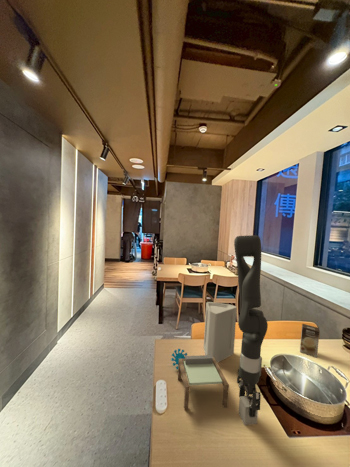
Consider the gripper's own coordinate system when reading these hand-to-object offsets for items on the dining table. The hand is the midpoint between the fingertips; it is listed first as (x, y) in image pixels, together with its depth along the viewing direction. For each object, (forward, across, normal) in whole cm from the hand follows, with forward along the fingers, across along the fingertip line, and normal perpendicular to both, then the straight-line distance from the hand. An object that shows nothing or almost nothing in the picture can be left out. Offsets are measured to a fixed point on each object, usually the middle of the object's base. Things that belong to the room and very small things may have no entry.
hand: (246, 406), depth 81 cm
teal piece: (+5, +32, +21) cm, 39 cm away
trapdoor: (-4, +14, +15) cm, 21 cm away
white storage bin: (+4, +43, -1) cm, 43 cm away
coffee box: (+4, +41, -61) cm, 74 cm away
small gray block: (+1, 0, -1) cm, 2 cm away
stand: (+5, +14, +14) cm, 21 cm away
